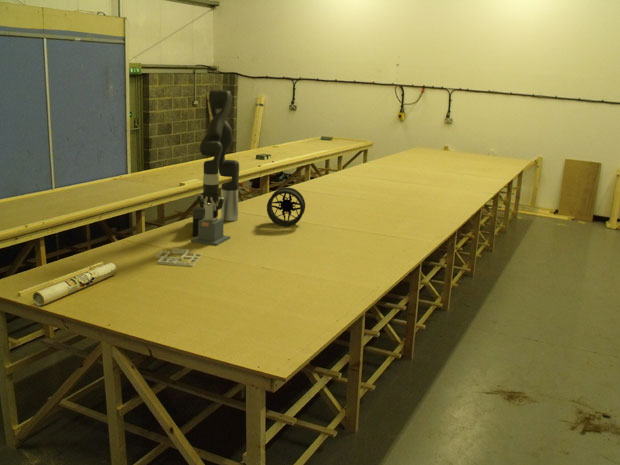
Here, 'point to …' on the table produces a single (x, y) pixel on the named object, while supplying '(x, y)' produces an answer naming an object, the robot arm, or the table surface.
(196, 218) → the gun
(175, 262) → the floor plan model
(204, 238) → the gray sleeve
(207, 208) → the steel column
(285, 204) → the wheel rim
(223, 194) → the robot arm
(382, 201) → the table surface
